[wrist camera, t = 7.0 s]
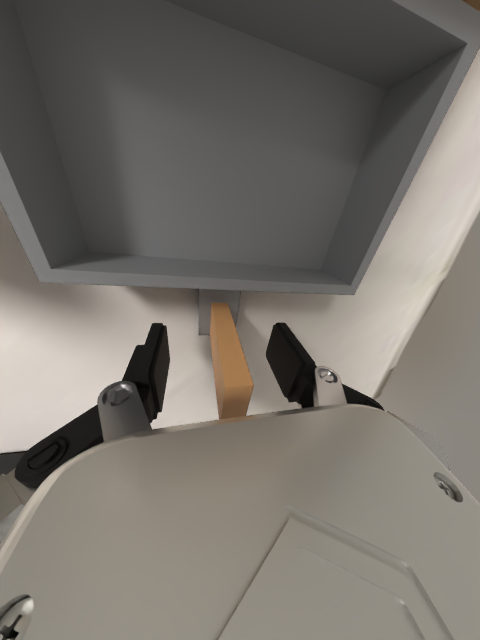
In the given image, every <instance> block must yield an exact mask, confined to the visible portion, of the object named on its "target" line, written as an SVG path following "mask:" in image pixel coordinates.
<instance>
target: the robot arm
mask: <svg viewBox="0 0 480 640" xmlns="http://www.w3.org/2000/svg"><path fill="white" fill-rule="evenodd" d="M266 358H267V360H268V362H269V364H270V367H271V369H272V371H273V373H274V375H275V377H276V380H277V382H278V384H279V386H280V388H281V391H282V393H283V395H284V397H287V399H288V401H289V402H297V403H298V405H299V409H294V410H286V411H278V412H271V413H264V414H256V415H249V416H242V417H234V418H227V419H220V420H213V421H206V422H199V423H192V424H185V425H178V426H172V427H166V428H159V429H153V430H152V428H151V426H150V423H151V422H152V421H153V419H157V414H158V412H161V411H162V406H163V400H164V394H165V388H166V382H167V376H168V369H169V363H170V355H169V346H168V336H167V327H166V326H163V323H152V325H151V328H150V331H149V334H148V337H147V339H146V342H145V345H137V346H136V348H135V350H134V353H133V355H132V357H131V360H130V362H129V365H128V367H127V369H126V372H125V374H124V377H123V379H122V381H119V382H116V383H113V384H111V385H109V386H108V387H106V388H105V389H104V390H103V391H102V392H101V393H100V395H99V397H98V401H97V403H98V404H97V405H96V406H94V407H93V408H91V409H90V410H88V411H86V412H85V413H83V414H82V415H80V416H79V417H77V418H76V419H74V420H72V421H71V422H69V423H68V424H66V425H65V426H63V427H62V428H60V429H58V430H57V431H55V432H54V433H52V434H51V435H49V436H48V437H46V438H45V439H43V440H41V441H40V442H38V443H37V444H36V445H34V446H33V447H32V448H30V449H29V450H28V451H27V452H26V453H25V454H24V455H23V456H22V458H21V459H20V461H19V462H18V464H17V466H16V468H15V469H14V470H12V471H11V472H9V473H8V474H7V475H4V474H1V475H0V640H480V504H479V502H478V501H477V500H476V499H475V498H474V497H473V496H472V495H471V494H470V493H469V492H468V490H467V489H466V488H465V487H464V486H463V485H462V484H461V483H460V482H459V481H458V480H457V479H456V477H455V476H454V475H453V474H452V473H451V472H450V469H449V465H448V462H447V457H446V453H445V451H444V448H443V447H442V445H441V444H440V443H439V442H438V441H437V440H436V439H435V438H434V437H432V436H431V435H429V434H428V433H426V432H424V431H423V430H421V429H419V428H417V427H415V426H413V425H412V424H410V423H408V422H406V421H405V420H403V419H401V418H399V417H397V416H396V415H394V414H392V413H390V412H388V411H387V412H385V411H384V409H383V407H382V406H381V405H380V404H379V403H378V402H376V401H375V400H373V399H372V398H370V397H368V396H366V395H364V394H362V393H360V392H358V391H356V390H354V389H352V388H350V387H348V386H346V385H344V384H342V383H341V380H340V377H339V376H338V374H337V373H336V372H335V371H333V370H332V369H330V368H327V367H324V366H319V367H317V366H316V365H315V362H314V361H313V359H312V358H311V357H310V355H309V354H308V353H307V351H306V350H305V349H304V347H303V346H302V345H301V343H300V342H299V341H298V339H297V338H296V337H295V335H294V334H293V333H292V331H291V330H290V329H289V327H288V326H287V325H286V323H276V325H274V326H273V329H272V333H271V336H270V340H269V344H268V347H267V351H266ZM30 596H31V597H32V598H28V597H30Z"/></svg>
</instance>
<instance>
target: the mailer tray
mask: <svg viewBox="0 0 480 640" xmlns="http://www.w3.org/2000/svg"><path fill="white" fill-rule="evenodd" d="M479 48H480V12H479V11H478V10H476V9H474V8H473V7H471V6H470V5H468V4H467V3H465V2H464V1H462V0H0V202H1V204H2V206H3V208H4V210H5V212H6V214H7V216H8V218H9V220H10V222H11V224H12V226H13V229H14V231H15V233H16V235H17V237H18V239H19V241H20V243H21V245H22V247H23V249H24V251H25V253H26V255H27V258H28V260H29V262H30V264H31V266H32V268H33V270H34V272H35V274H36V276H37V278H38V280H39V282H42V283H67V284H92V285H116V286H141V287H166V288H191V289H199V335H210V341H211V350H212V359H213V368H214V377H215V387H216V396H217V405H218V414H219V420H220V419H227V418H234V417H242V416H246V413H247V409H248V405H249V401H250V398H251V394H252V390H253V386H254V384H253V381H252V378H251V375H250V371H249V368H248V365H247V362H246V359H245V356H244V353H243V350H242V346H241V343H240V340H239V337H238V334H237V331H236V322H237V315H238V308H239V301H240V294H241V291H265V292H290V293H314V294H339V295H354V294H355V292H356V290H357V288H358V286H359V284H360V282H361V280H362V278H363V276H364V275H365V273H366V271H367V269H368V267H369V265H370V263H371V261H372V259H373V257H374V255H375V253H376V251H377V249H378V247H379V245H380V243H381V241H382V239H383V237H384V235H385V233H386V231H387V229H388V227H389V225H390V223H391V221H392V219H393V217H394V215H395V213H396V211H397V209H398V207H399V206H400V204H401V202H402V200H403V198H404V196H405V194H406V192H407V190H408V188H409V186H410V184H411V182H412V180H413V178H414V176H415V174H416V172H417V170H418V168H419V166H420V164H421V162H422V160H423V158H424V156H425V154H426V152H427V150H428V148H429V146H430V144H431V142H432V140H433V138H434V136H435V135H436V133H437V131H438V129H439V127H440V125H441V123H442V121H443V119H444V117H445V115H446V113H447V111H448V109H449V107H450V105H451V103H452V101H453V99H454V97H455V95H456V93H457V91H458V89H459V87H460V85H461V83H462V81H463V79H464V77H465V75H466V73H467V71H468V69H469V67H470V66H471V64H472V62H473V60H474V58H475V56H476V54H477V52H478V50H479Z"/></svg>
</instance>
